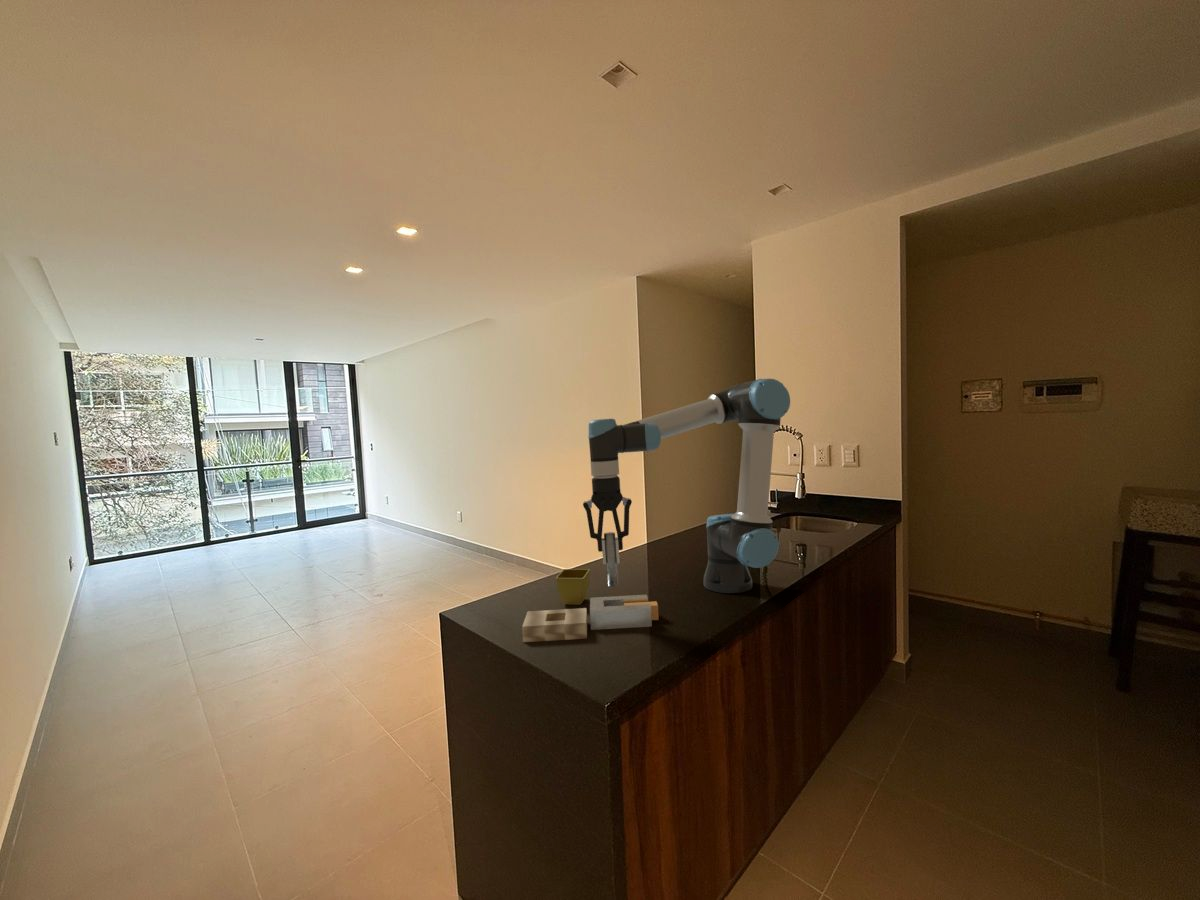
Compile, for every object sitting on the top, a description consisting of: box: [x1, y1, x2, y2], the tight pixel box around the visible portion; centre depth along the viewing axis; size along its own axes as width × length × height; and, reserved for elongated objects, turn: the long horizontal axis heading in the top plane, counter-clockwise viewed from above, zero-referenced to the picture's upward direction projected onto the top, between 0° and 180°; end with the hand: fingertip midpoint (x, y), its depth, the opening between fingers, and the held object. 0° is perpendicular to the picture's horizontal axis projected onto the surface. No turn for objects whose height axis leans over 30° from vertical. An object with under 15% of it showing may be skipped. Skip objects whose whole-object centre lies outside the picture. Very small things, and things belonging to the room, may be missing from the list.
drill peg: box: [603, 531, 619, 587], centre depth 129 cm, size 3×3×14 cm
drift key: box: [624, 600, 660, 621], centre depth 129 cm, size 9×3×4 cm, turn 91°
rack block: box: [521, 607, 588, 643], centre depth 124 cm, size 16×10×4 cm, turn 91°
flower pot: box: [555, 568, 591, 606], centre depth 145 cm, size 9×9×9 cm
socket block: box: [589, 594, 653, 631], centre depth 129 cm, size 16×10×5 cm, turn 91°
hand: (611, 562), depth 129 cm, fingers closed on drill peg, 3 cm apart
